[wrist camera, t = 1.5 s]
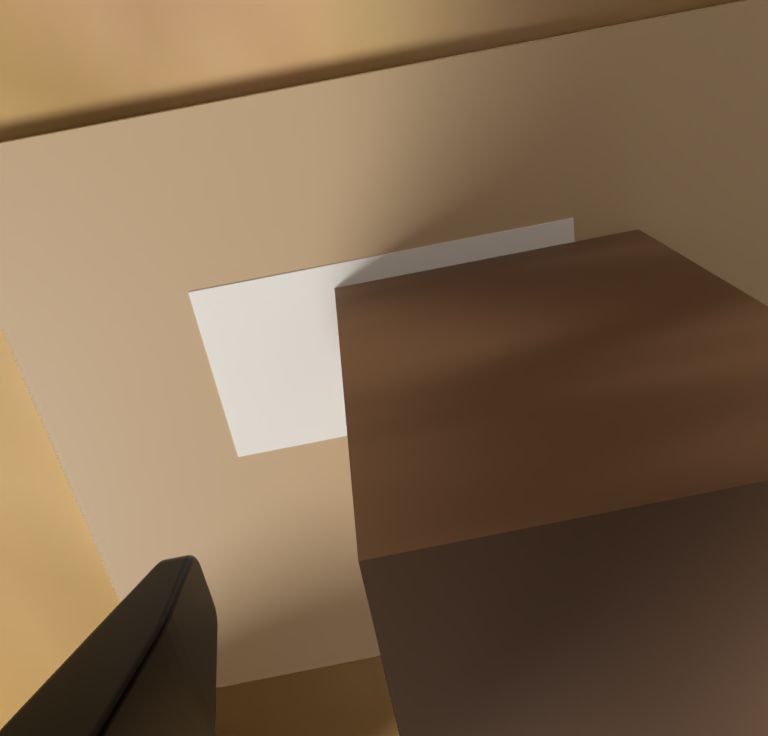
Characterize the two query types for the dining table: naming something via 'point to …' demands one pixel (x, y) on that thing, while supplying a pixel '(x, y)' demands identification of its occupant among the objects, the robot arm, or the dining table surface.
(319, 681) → the dining table surface
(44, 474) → the dining table surface
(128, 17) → the dining table surface
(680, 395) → the walnut block
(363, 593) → the envelope
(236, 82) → the dining table surface
